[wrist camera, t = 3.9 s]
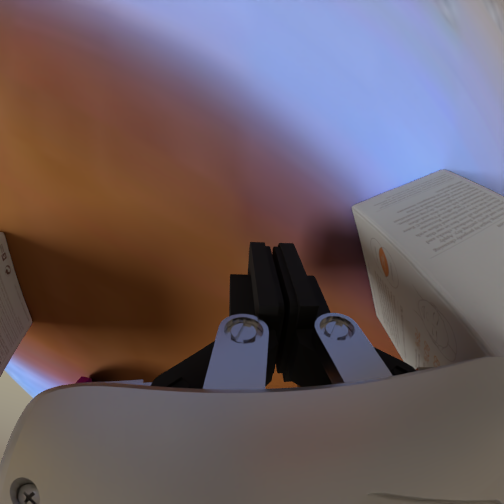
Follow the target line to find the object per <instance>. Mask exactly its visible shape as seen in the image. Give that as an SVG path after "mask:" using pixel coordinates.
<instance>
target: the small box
mask: <svg viewBox="0 0 504 504" xmlns="http://www.w3.org/2000/svg"><path fill="white" fill-rule="evenodd" d="M352 211H353V215H354V219H355V223H356V226H357V230H358V234H359V238H360V242H361V246H362V251H363V255H364V259H365V263H366V268H367V272H368V277H369V281H370V286H371V291H372V296H373V301H374V306H375V310H376V315H377V317H378V319H379V320H380V322H381V323H382V325H383V327H384V329H385V330H386V332H387V334H388V335H389V337H390V339H391V341H392V342H393V344H394V345H395V347H396V349H397V351H398V352H399V354H400V356H401V357H402V359H403V361H404V362H405V363H407V364H409V365H410V366H412V367H413V368H414V369H415V370H416V369H417V367H439V366H443V365H447V364H452V363H456V362H460V361H465V360H469V359H473V358H480V357H504V197H503V196H502V195H500V194H498V193H496V192H494V191H492V190H490V189H488V188H485V187H483V186H481V185H479V184H477V183H475V182H473V181H470V180H468V179H466V178H464V177H461V176H459V175H457V174H455V173H452V172H450V171H447V170H439V171H437V172H434V173H432V174H429V175H427V176H424V177H422V178H419V179H417V180H414V181H412V182H410V183H407V184H405V185H402V186H400V187H397V188H394V189H392V190H389V191H387V192H384V193H382V194H379V195H377V196H374V197H372V198H370V199H368V200H365V201H363V202H360V203H358V204H355V205H353V206H352Z"/></svg>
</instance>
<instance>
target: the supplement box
mask: <svg viewBox="0 0 504 504" xmlns="http://www.w3.org/2000/svg"><path fill="white" fill-rule="evenodd" d="M31 325H32V319H31V316H30V313H29V310H28V308H27V305H26V303H25V300H24V297H23V294H22V291H21V289H20V285H19V282H18V279H17V276H16V273H15V270H14V266H13V263H12V260H11V256H10V253H9V249H8V245H7V242H6V238H5V235H4V233H3V232H0V377H1V375H2V373H3V371H4V369H5V368H6V366H7V364H8V362H9V361H10V359H11V357H12V355H13V354H14V352H15V350H16V349H17V347H18V345H19V344H20V342H21V340H22V339H23V337H24V336H25V334H26V332H27V331H28V329H29V328H30V326H31Z"/></svg>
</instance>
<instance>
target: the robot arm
mask: <svg viewBox="0 0 504 504" xmlns="http://www.w3.org/2000/svg"><path fill="white" fill-rule="evenodd" d="M275 364H276V368H277V372H278V373H283V379H284V382H289V381H292V382H294V383H296V384H297V385H298V386H297V388H278V389H265V386H266V385H267V384H268V383H270V382H271V380H272V375H273V373H274V369H275ZM0 504H504V357H480V358H473V359H469V360H465V361H460V362H456V363H452V364H447V365H443V366H439V367H417V369H416V370H415V369H414V368H413V367H412V366H410V365H409V364H407V363H405V362H403V361H401V360H399V359H397V358H395V357H393V356H391V355H389V354H387V353H385V352H383V351H381V350H379V349H377V348H374V347H373V346H372V345H371V343H370V342H369V340H368V339H367V337H366V336H365V335H364V333H363V332H362V330H361V329H360V328H359V326H358V325H357V324H356V323H355V321H354V320H352V319H351V318H349V317H348V316H345V315H342V314H338V313H330V310H329V308H328V306H327V303H326V301H325V299H324V297H323V294H322V292H321V290H320V287H319V285H318V283H317V281H316V278H315V277H314V276H307V275H306V272H305V270H304V268H303V265H302V263H301V260H300V258H299V256H298V253H297V251H296V248H295V246H294V244H292V243H279V245H278V247H273V254H272V253H271V249H270V246H265V243H260V242H250V249H249V264H248V275H236V274H230V305H229V317H227V318H225V319H224V320H223V321H222V322H221V324H220V326H219V328H218V332H217V336H216V340H215V341H214V342H212V343H211V344H209V345H208V346H206V347H205V348H203V349H201V350H200V351H198V352H197V353H195V354H193V355H192V356H190V357H189V358H187V359H185V360H184V361H182V362H181V363H179V364H177V365H176V366H174V367H172V368H171V369H169V370H168V371H166V372H164V373H163V374H161V375H159V376H158V377H157V378H156V379H154V381H153V382H148V383H144V381H143V379H141V380H128V381H110V382H86V383H75V384H69V385H62V386H58V387H54V388H51V389H48V390H45V391H43V392H41V393H40V394H38V395H37V396H36V397H34V398H33V399H32V400H31V401H30V403H29V404H28V405H27V406H26V408H25V409H24V411H23V412H22V415H21V416H20V418H19V420H18V421H17V423H16V426H15V428H14V430H13V432H12V434H11V436H10V439H9V441H8V444H7V447H6V450H5V452H4V455H3V458H2V461H1V464H0Z"/></svg>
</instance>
